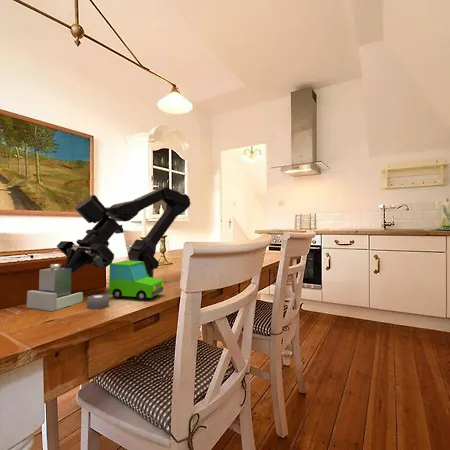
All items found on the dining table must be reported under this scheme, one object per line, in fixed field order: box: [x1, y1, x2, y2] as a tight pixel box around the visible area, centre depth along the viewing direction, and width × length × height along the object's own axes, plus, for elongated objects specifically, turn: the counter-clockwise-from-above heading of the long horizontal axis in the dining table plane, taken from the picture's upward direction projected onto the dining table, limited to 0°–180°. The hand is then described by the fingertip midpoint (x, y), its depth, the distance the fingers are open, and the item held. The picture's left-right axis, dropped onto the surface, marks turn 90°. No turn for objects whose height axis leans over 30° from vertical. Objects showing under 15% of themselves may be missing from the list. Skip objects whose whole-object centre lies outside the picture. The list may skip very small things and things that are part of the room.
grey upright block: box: [38, 263, 72, 298], centre depth 71 cm, size 5×5×10 cm
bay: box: [26, 289, 84, 312], centre depth 71 cm, size 9×8×4 cm
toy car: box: [108, 260, 165, 302], centre depth 81 cm, size 10×13×10 cm
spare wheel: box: [86, 293, 110, 310], centre depth 70 cm, size 5×5×3 cm
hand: (64, 275), depth 74 cm, fingers closed
